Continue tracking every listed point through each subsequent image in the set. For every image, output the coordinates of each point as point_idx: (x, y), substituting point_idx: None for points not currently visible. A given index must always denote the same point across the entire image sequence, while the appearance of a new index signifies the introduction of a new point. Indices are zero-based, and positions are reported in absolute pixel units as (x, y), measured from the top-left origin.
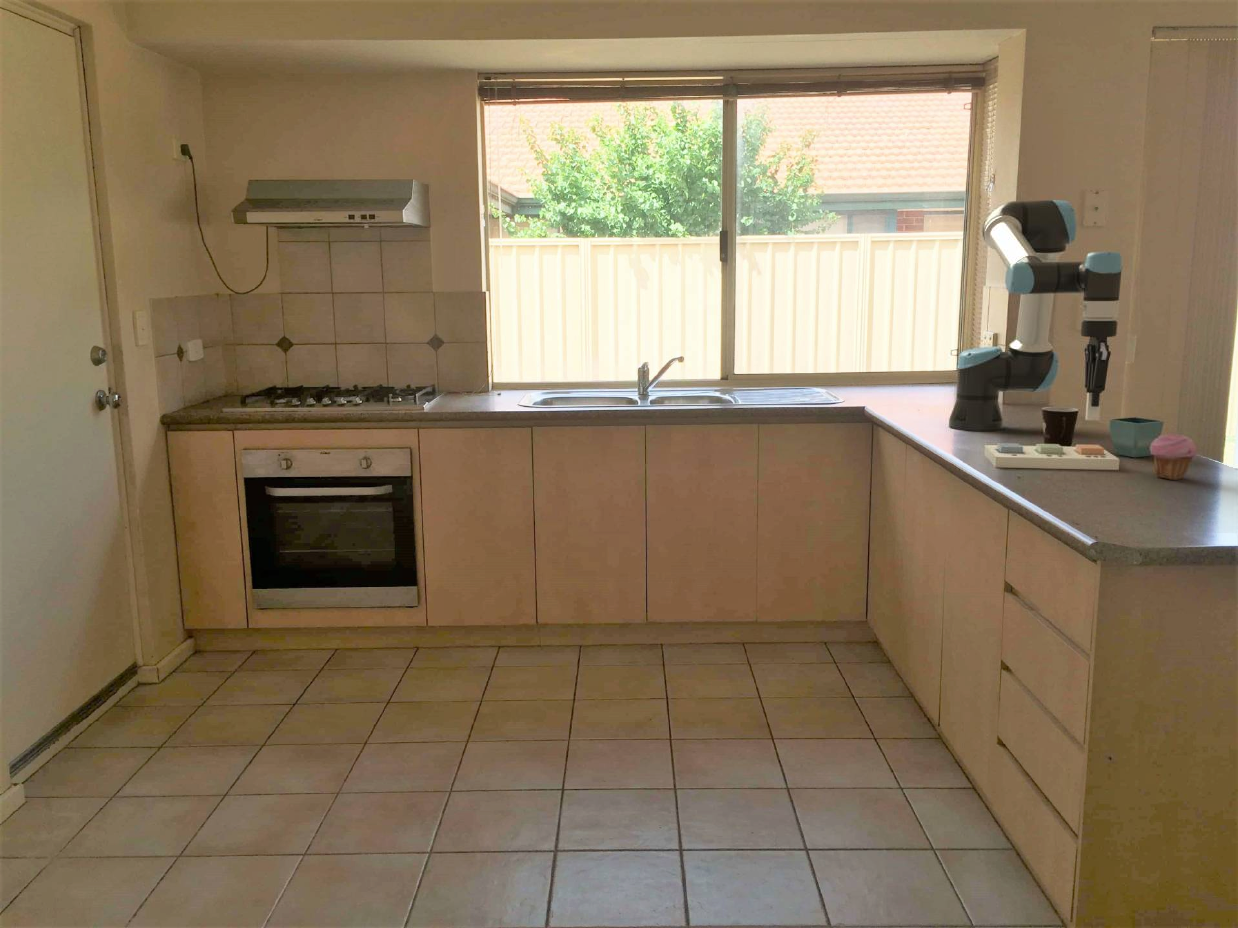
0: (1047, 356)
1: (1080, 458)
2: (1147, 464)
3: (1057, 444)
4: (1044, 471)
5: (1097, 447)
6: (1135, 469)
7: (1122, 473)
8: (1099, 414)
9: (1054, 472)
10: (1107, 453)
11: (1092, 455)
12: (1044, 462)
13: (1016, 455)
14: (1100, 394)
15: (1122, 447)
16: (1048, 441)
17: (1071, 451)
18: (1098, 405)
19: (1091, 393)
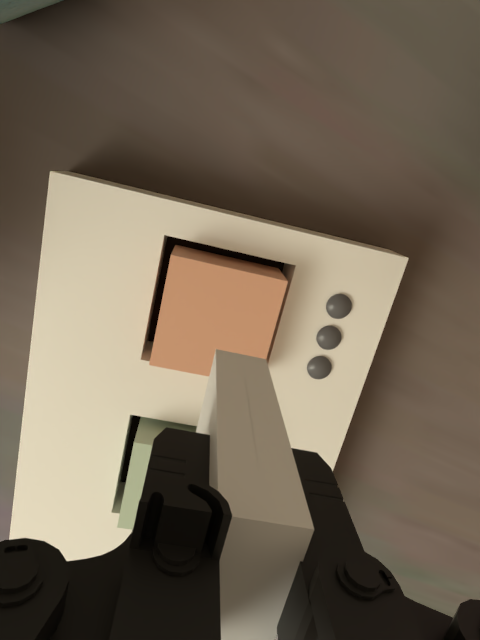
0: None
1: (350, 415)
2: (287, 19)
3: (143, 449)
4: None
5: (252, 299)
6: (391, 163)
7: (454, 270)
8: (272, 382)
9: (375, 497)
10: (251, 235)
11: (292, 334)
12: None
13: None
14: (305, 519)
15: (29, 12)
16: None
17: (177, 381)
18: (324, 464)
19: (277, 625)
